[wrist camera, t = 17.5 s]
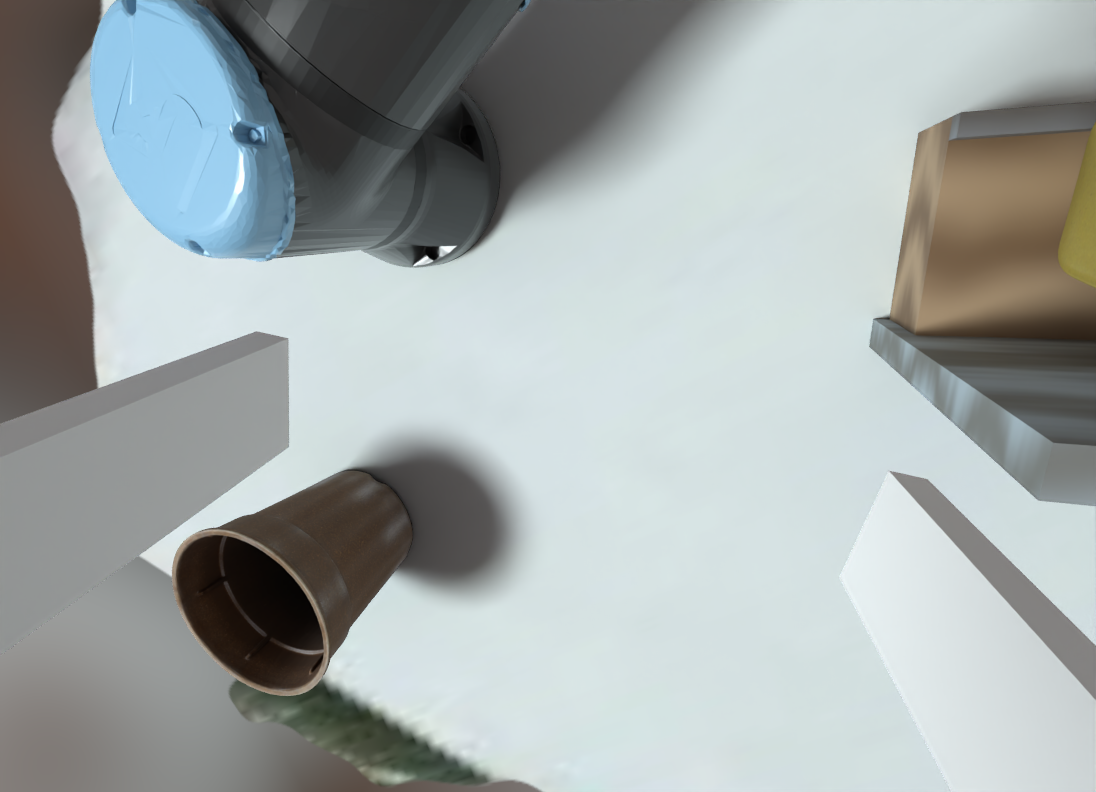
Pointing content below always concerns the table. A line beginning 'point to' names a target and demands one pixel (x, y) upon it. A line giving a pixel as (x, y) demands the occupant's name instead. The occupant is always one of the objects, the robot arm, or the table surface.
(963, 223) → the book stand
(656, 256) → the table surface
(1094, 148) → the flower pot
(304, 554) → the plant pot
